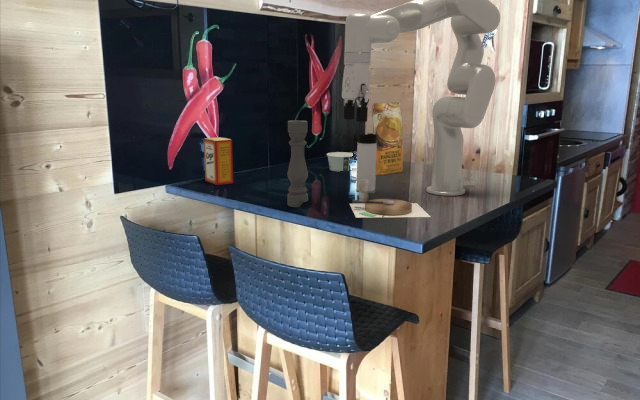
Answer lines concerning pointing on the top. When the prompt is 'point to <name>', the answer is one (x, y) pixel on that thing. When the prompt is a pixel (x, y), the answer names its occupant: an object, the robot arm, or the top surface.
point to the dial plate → (362, 213)
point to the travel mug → (366, 160)
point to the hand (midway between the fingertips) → (355, 120)
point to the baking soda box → (218, 160)
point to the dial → (382, 203)
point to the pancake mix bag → (388, 137)
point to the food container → (339, 161)
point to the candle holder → (297, 164)
